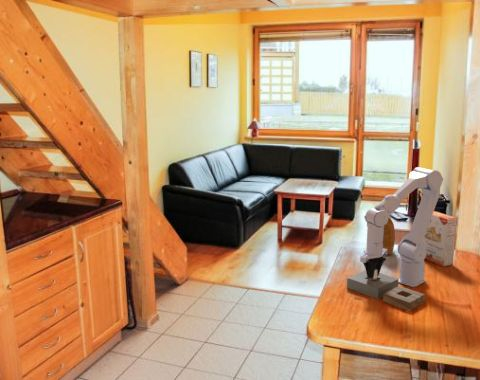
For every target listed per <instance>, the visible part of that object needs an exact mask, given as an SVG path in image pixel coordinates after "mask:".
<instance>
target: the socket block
mask: <svg viewBox="0 0 480 380" xmlns="http://www.w3.org/2000/svg"><path fill="white" fill-rule="evenodd" d="M425 299H426V294H425V293H421V292H419V291H416V290H413V289H410V288H407V287H403V286H401V285H398V287H396V288H394V289H392V290H390V291H388V292H385V293H383V298H382V302H383V303H385V304H389V305H392V306H395V307H398V308H399V309H402V310H406V311H409V312H410V311H412V310H414V309H416V308H417V307H419V306H420V305H422V304H424V303H425Z"/></svg>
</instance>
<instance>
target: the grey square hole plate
mask: <svg viewBox="0 0 480 380" xmlns="http://www.w3.org/2000/svg"><path fill="white" fill-rule="evenodd" d="M398 279H399V278H396V277H394V276H390V275H388V274H384V273H381V272H380V273H379V275H378V276H377V281H375V282H374V281H371V280H369V278H368V277H367V273H366V269H365V270H363V271H360V272H358V273H355V274H353V275H351V276H348V277H347V279H346V289H347V290H348V289H349V290H351V291H355V292H358V293H360V294H363V295H364V296H368V297H371V298H373V299H376V300H379V299H380V298H382V297H383V293H385V292H388V291H390V290H392V289H394V288H396V287H398V286H399V283H398Z"/></svg>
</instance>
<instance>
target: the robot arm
mask: <svg viewBox="0 0 480 380" xmlns="http://www.w3.org/2000/svg"><path fill="white" fill-rule="evenodd" d="M408 175H409V177H408V178H407V180H405V181H404V182H403V183H402V184H401V186H400V187H399V188H397V190H396V191H395V192H394V193H393V194H388V195H385V196H384V197H383V199H382V200H381V201H380V202H379V203H378V204H376V205H375V206H374V207H373V208H370V209H368V210H367V211H366V213H365V215H364V217H363V218H364V220H365V222H366V227H367V229H366V231H367V232H366V249H365V250H363V254H362V255H361V256H360V257H359V258H360V260H359V261H360V263H362V264H363V266H364V269H365V270H366V273H367V277H368V278H371V279H373V277H374V271H375V268H377V269H378V273H377V276H378V275H379V273H381V269H382V266H383V265H384V263H385V262H386V259H387V258H386V257H385V256H384V255H386V254H387V249H384V248H383V234H384V225H386V224H387V222H388V218H389V217H390V216H391V215H392V214H393V213H394V212H395V211H396V210H397V209H398V208H400V206H401V201H403V200H404V199H405V198H406V197H407V196H408V195H410V194H411V193H412V192H414V191H415V190H416V189H420V191H421V193H422V196H421V198H420V199H421V200H420V202H419V205H418V208H417V210H416V214H415V217H414V219H413V221H412V225H411V228H410V231H409V233H407V234H405V235H403V236H402V239H401V241H400V242H399V243H398V245H397V253H398V255H399V258H400V271H399V278H397V279H398V284H403V285H405V286H408V287H411V288H417V286H419V285H422V284H423V283H425V282H426V281H427V280H426V279H425V271H426V269H425V268H426V264H425V261H424V260H426V259H425V257H426V249H427V246H428V245H427V243H426V241H425V239H424V237H425V234H426V231H427V228H428V226H429V223H430V220H431V217H432V214H433V212H434V211H435V209H436V206H437V203H438V200H439V197H440V195H441V187H442V184H443V181H444V177H443V175H442V173H441V172H440V171H439V170H437V169H436V170H435V169H430V168H424V167H421V166H417V167H415V168H414V169H413V170H412V171H411V172H410V173H409V174H408ZM390 218H391V217H390Z"/></svg>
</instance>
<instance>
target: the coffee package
mask: <svg viewBox="0 0 480 380" xmlns="http://www.w3.org/2000/svg"><path fill="white" fill-rule="evenodd" d="M395 239H396V234H395V224H394V222H393V220H392V218H391V217H389V218H388V222H387V224H386V225H384V234H383V248H384V249H387V254H386V255H388V256H389V255H393V252H394V249H395V241H396V240H395Z"/></svg>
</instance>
